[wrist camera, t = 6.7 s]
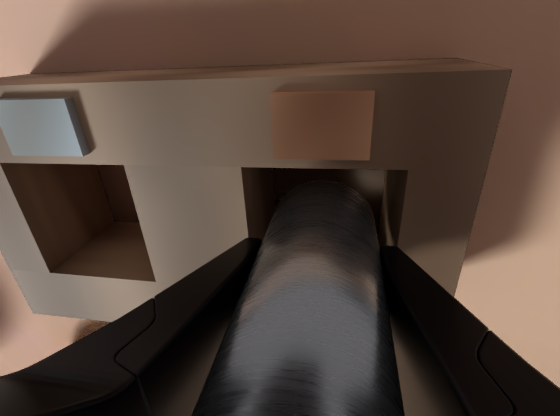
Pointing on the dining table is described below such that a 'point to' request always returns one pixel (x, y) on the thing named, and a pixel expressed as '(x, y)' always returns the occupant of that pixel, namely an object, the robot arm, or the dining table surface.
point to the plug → (310, 317)
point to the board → (228, 166)
